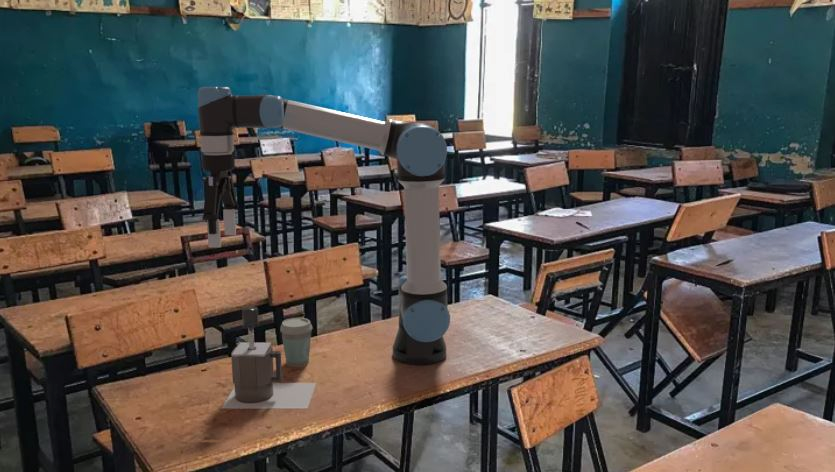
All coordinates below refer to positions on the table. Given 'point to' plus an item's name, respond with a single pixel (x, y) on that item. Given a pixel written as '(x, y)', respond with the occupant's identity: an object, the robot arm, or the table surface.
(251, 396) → the grey french press
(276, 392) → the mat
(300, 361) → the coffee cup
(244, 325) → the plunger
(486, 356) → the table surface
